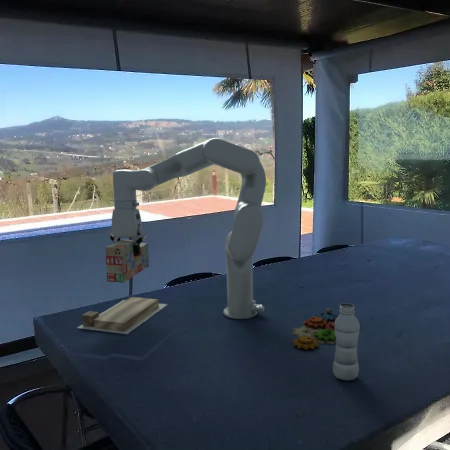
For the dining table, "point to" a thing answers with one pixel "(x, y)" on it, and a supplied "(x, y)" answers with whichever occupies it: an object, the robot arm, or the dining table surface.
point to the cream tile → (130, 327)
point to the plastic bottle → (346, 343)
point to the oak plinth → (126, 314)
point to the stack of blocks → (125, 260)
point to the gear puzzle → (316, 331)
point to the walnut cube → (89, 318)
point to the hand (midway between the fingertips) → (127, 254)
